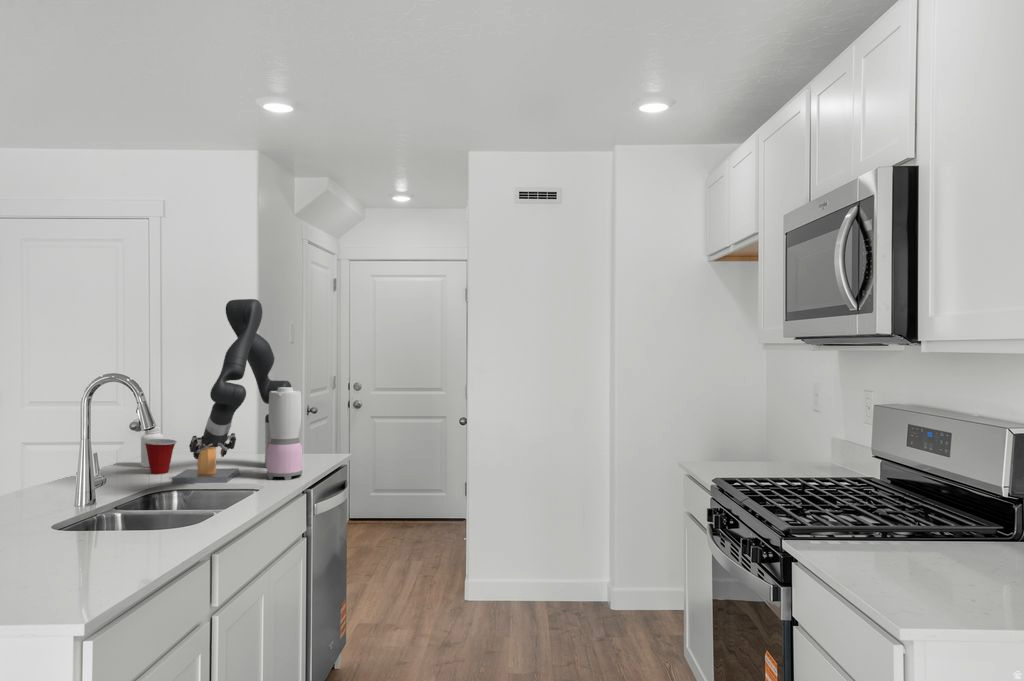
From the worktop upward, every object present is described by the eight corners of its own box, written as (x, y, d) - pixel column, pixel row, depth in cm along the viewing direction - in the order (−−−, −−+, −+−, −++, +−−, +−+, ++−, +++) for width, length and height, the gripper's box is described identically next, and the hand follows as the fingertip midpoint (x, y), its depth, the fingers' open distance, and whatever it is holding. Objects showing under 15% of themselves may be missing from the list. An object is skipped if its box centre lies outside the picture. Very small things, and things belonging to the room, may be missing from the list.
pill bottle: (141, 464, 278) (141, 426, 278) (164, 463, 282) (164, 425, 281) (140, 468, 271) (140, 428, 271) (163, 466, 274) (163, 427, 274)
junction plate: (187, 474, 259) (187, 458, 259) (238, 473, 261) (239, 457, 261) (172, 483, 243) (172, 466, 243) (227, 482, 245) (227, 465, 245)
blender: (294, 480, 249) (294, 389, 249) (260, 479, 250) (261, 388, 250) (311, 472, 265) (311, 386, 265) (279, 471, 266) (280, 385, 266)
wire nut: (200, 471, 254) (200, 443, 254) (217, 471, 255) (217, 443, 255) (195, 474, 249) (195, 446, 249) (212, 474, 249) (213, 445, 249)
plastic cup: (167, 475, 257) (167, 442, 257) (137, 475, 257) (137, 442, 257) (182, 470, 268) (182, 438, 268) (153, 469, 268) (153, 437, 268)
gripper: (237, 416, 246) (228, 445, 255) (193, 418, 237) (185, 449, 246) (242, 433, 242) (232, 462, 251) (197, 436, 233) (188, 466, 242)
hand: (209, 455), depth 249 cm, fingers open, 8 cm apart
